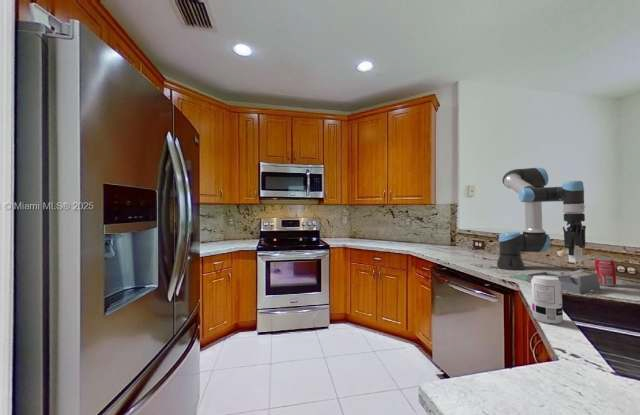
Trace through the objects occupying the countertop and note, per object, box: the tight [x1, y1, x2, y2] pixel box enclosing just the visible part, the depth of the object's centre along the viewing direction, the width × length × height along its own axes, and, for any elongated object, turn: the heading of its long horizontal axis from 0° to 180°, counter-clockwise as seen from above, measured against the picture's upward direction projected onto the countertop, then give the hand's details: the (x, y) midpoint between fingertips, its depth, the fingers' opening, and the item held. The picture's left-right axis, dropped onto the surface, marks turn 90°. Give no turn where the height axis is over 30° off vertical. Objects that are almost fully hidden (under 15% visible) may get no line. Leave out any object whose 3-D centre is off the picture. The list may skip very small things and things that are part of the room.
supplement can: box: [530, 275, 564, 324], centre depth 97 cm, size 8×8×15 cm
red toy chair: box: [594, 257, 617, 288], centre depth 138 cm, size 7×7×13 cm
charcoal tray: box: [526, 271, 601, 294], centre depth 139 cm, size 23×15×8 cm, turn 20°
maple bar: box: [556, 246, 581, 258], centre depth 136 cm, size 8×4×2 cm, turn 19°
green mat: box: [508, 273, 528, 282], centre depth 156 cm, size 10×12×1 cm
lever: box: [552, 268, 585, 279], centre depth 139 cm, size 18×13×2 cm
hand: (575, 261), depth 133 cm, fingers closed on maple bar, 4 cm apart
